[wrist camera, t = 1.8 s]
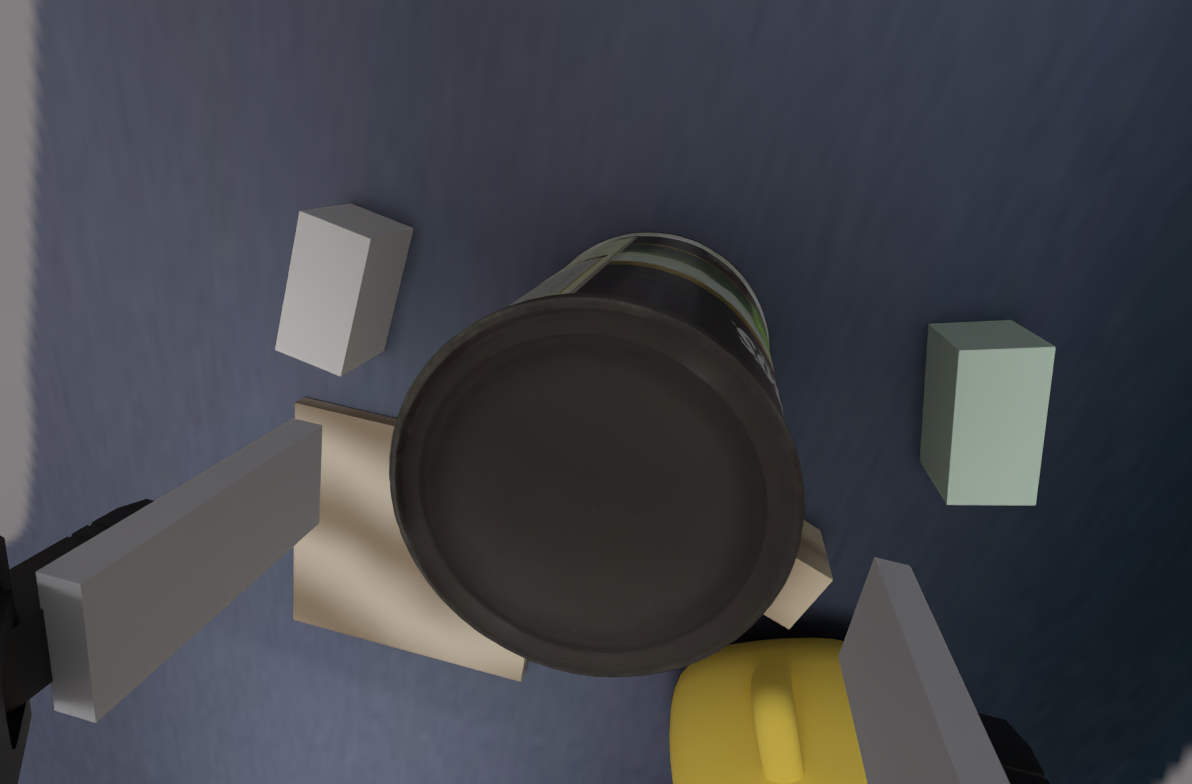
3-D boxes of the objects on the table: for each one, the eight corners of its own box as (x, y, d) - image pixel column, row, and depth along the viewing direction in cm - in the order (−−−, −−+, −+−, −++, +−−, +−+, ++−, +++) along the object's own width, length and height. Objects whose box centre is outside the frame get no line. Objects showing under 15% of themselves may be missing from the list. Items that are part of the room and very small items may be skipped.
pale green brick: (927, 323, 27) (959, 350, 24) (1010, 319, 27) (1055, 346, 23) (918, 459, 29) (946, 505, 26) (995, 459, 29) (1035, 505, 25)
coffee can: (767, 219, 27) (806, 283, 14) (771, 457, 30) (804, 691, 17) (518, 238, 29) (347, 311, 16) (546, 459, 32) (423, 670, 19)
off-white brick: (352, 203, 30) (299, 210, 26) (414, 227, 30) (370, 238, 26) (326, 327, 32) (275, 349, 28) (385, 350, 32) (340, 376, 28)
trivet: (304, 397, 33) (294, 402, 33) (560, 457, 32) (556, 464, 31) (301, 610, 38) (293, 619, 37) (524, 671, 37) (520, 681, 36)
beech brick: (672, 509, 32) (666, 556, 28) (707, 461, 31) (705, 503, 27) (781, 574, 32) (789, 629, 28) (820, 528, 31) (833, 580, 27)
